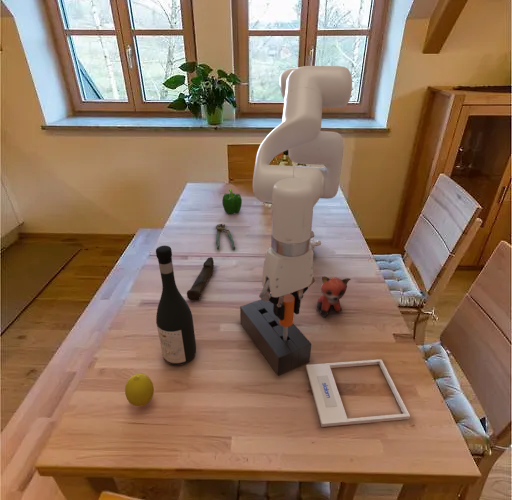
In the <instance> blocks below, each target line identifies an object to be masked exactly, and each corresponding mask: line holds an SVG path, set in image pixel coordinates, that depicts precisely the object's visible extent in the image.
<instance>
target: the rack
mask: <svg viewBox="0 0 512 500" xmlns="http://www.w3.org/2000/svg"><path fill="white" fill-rule="evenodd" d="M273 307H274V304H273V303H271V302H270V301H262V299H261V298H259V300H254V301H252V302H249V303H246V304H243V305H241V306H239V312H240V316H239V317H240V325H241V327H242V328H243V329H244V330H245V332H246V333H247V335H248V337H249V338H250V339H251V340H252V342H253V343H254V345H255V346H256V347H257V349H258V350H259V352H260V353H261V354H262V356H263V357H264V359H265V360H266V361H267V363H268V364H269V366H270V367H271V369H272V370H273V371H274V373H275V374H276V376H278V377H279V376H281V375H284V374H285V373H288V372H290V371H292V370H294V369H295V370H296V368H300V367H301V366H304V365H307V364H308V363H310V362H311V354H312V353H311V352H312V342H311V341H310V340H309V339H308V338H307V336H305V334H304V333H303V332H302V331H301V330H300V329H299V328H298V326H296V324H294V323H293V324H292V325H291V326H289V327H288V335H287V341H285V342H283V329H284V326H282V325H280V323H279V318H278V316H275V314H274V312H273Z"/></svg>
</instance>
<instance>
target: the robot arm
mask: <svg viewBox="0 0 512 500" xmlns="http://www.w3.org/2000/svg"><path fill="white" fill-rule="evenodd" d="M279 89H280V93H281V96H282V98H283V101H284V102H283V110H282V116H281V117H282V118H281V119H282V120H281V123H279V124H278V125H277V126H276V127H274V128H273V129H272V130H271V131H270V132H269V133H268V134H267V135H266V136H265V137H264V139H263V140H262V141H261V143H260V145H259V147H258V149H257V152H256V157H255V161H254V162H255V163H254V168H253V169H254V170H253V176H252V192H253V196H254V197H255V198H256V199H257V201H259V202H262V203H269V204H271V240H270V243H271V244H270V246H269V247H267V249H266V252H265V255H264V256H265V257H264V261H263V267H262V277H261V283H262V284H261V285H262V290H261V291H260V293H259V295H258V297H259V299H262V301H270V302H271V303H273V304H274V307H273V312H274V314H275V316H278V318H279V319H280V320H281V321H282V320H284V312H285V306H284V305H283V299H284V295H286V294H291V295H293V296H294V297H295V304H294V315H300V308H301V301H302V299H304V295H305V293H306V291H308V289H309V288H310V287H311V286H313V284H315V282H316V280H315V278H314V256H315V255H314V254H315V251H314V250H313V249H315V248H316V247H319V246H322V241H321V240H320V239H318V240H314V237H315V232H314V231H313V230H312V227H313V217H314V207H315V206H316V205H317V203H319V200H320V199H324V200H325V199H326V200H329V199H333V198H335V197H336V196H337V194H338V191H339V187H340V181H341V171H342V164H343V155H344V140H343V136H342V135H341V133H339V132H337V131H330V130H327V131H326V130H321V129H322V117H323V108H334V109H335V108H340V109H341V108H346V106H347V105H348V104H349V102H350V99H351V96H352V91H353V78H352V74H351V71H350V69H349V68H348V67H345V66H341V65H303V66H298V67H291V68H290V67H289V68H287V69H285V70H283V71H281V74H280V76H279ZM286 151H288V158H289V160H290V161H291V162H292V163H294V164H299V165H283V164H271V162H272V160H274V159H275V158H276V157H277V156H279V155H280V154H282V153H283V152H286ZM300 164H301V165H300ZM306 165H307V166H306ZM308 165H317V166H308ZM323 166H324V167H323Z"/></svg>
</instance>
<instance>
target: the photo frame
mask: <svg viewBox="0 0 512 500" xmlns="http://www.w3.org/2000/svg"><path fill="white" fill-rule="evenodd" d="M373 365H374V366H375V365H379V367H380V369H381V371H382V373H383V375H384V378H385V379H386V381H387V384H388V386H389V387H390V390H391V392H392V394H393V396H394V398H395V400H396V402H397V404H398V406H399V408H400V410H401V412H402V413H397V414H396V413H395V414H384V415H383V414H382V415H373V416H361V417H349V418H348V416H347V413H346V410H345V407H344V405H343V401H342V399H341V396H340V393H339V390H338V387H337V383H336V380H335V378H334V375H333V372H332V369H333V368H334V369H335V368H336V369H337V368H347V367H360V366H361V367H362V366H373ZM305 370H306V374H307V378H308V380H309V385H310V389H311V392H312V396H313V400H314V404H315V408H316V411H317V415H318V419H319V423H320V426H321V427H322V428H324V427H334V426H336V427H337V426H347V425H357V424H368V423H379V422H381V423H382V422H389V421H390V422H392V421H402V420H410V419H411V414H410V413H409V411H408V409H407V407H406V405H405V402H404V401H403V399H402V397H401V395H400V393H399V392H398V389H397V387H396V385H395V383H394V381H393V379H392V377H391V375H390V373H389V371H388V369H387V367H386V365H385V363H384V360H383V359H382V358H378V359H364V360H353V361H351V360H350V361H338V362H327V363H326V362H324V363H312V364H305Z"/></svg>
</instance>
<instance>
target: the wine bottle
mask: <svg viewBox="0 0 512 500" xmlns="http://www.w3.org/2000/svg"><path fill="white" fill-rule="evenodd" d="M155 254H156V255H155V257H156V258H157V261H158V262H157V263H158V266H159V272H160V278H161V284H162V287H161V288H162V291H161V296H160V299H159V302H158V305H157V308H156V317H155V323H156V329H157V333H158V338H159V343H160V350H161V355H162V357H163V359H164V361H165V362H166V363H168V365H172V366H182V365H185V364H187V363H189V362H191V361H192V360H193V359H194V358H195V355H196V353H197V342H196V341H197V340H196V334H195V326H194V325H195V324H194V317H193V313H192V310H191V308H190V306H189V304H188V302H187V301H186V300H185V298H184V296H183V295H182V294H181V292H180V290H179V289H178V286H177V284H176V278H175V271H174V263H173V257H172V256H173V250H172V248H171V247H170V246H169V245H160V246H157V248H156V249H155Z"/></svg>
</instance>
